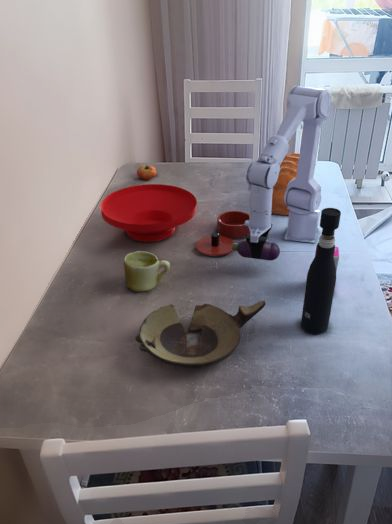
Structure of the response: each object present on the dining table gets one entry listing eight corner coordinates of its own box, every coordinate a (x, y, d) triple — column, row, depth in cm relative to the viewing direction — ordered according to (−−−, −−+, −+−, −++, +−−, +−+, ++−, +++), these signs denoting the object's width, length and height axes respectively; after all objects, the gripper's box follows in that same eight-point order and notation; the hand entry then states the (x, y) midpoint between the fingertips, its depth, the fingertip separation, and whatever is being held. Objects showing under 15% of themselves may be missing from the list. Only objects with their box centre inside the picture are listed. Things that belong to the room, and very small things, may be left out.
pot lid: (238, 240, 151) (239, 228, 149) (229, 260, 142) (229, 246, 140) (202, 236, 154) (201, 223, 152) (190, 255, 145) (190, 241, 143)
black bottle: (329, 320, 118) (348, 206, 100) (326, 336, 113) (345, 220, 95) (303, 316, 120) (317, 203, 102) (298, 331, 115) (313, 216, 97)
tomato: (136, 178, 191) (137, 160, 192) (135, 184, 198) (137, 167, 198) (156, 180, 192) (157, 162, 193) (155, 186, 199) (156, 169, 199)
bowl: (87, 244, 153) (81, 215, 146) (132, 205, 175) (129, 178, 169) (174, 260, 143) (172, 230, 137) (210, 217, 165) (210, 189, 159)
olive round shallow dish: (142, 318, 121) (139, 293, 117) (261, 315, 121) (263, 289, 116) (133, 381, 104) (129, 355, 99) (273, 378, 103) (275, 351, 98)
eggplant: (280, 256, 136) (282, 240, 133) (277, 265, 132) (279, 249, 129) (234, 250, 139) (235, 234, 136) (230, 258, 135) (230, 243, 132)
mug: (114, 288, 129) (120, 253, 125) (126, 279, 138) (133, 245, 134) (157, 301, 127) (165, 266, 124) (167, 291, 137) (174, 257, 133)
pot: (254, 224, 160) (255, 212, 157) (247, 240, 151) (247, 227, 149) (222, 221, 162) (222, 209, 160) (213, 236, 154) (213, 223, 152)
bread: (314, 182, 186) (318, 148, 178) (307, 217, 162) (311, 180, 154) (273, 179, 190) (276, 145, 182) (261, 213, 166) (263, 177, 158)
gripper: (251, 195, 133) (249, 239, 141) (239, 218, 122) (238, 264, 130) (276, 197, 131) (273, 242, 139) (266, 221, 120) (264, 268, 128)
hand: (258, 253), depth 135 cm, fingers closed on eggplant, 5 cm apart
